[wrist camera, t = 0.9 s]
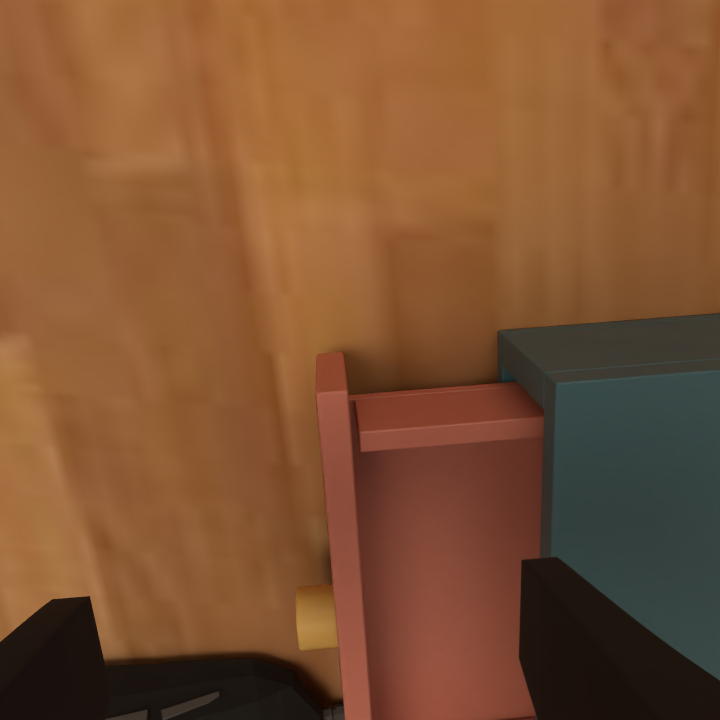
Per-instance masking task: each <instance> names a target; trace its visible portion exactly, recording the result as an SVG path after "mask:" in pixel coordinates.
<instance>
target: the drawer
mask: <svg viewBox="0 0 720 720" xmlns="http://www.w3.org/2000/svg"><path fill="white" fill-rule="evenodd" d="M316 404H317V415H318V427H319V438H320V449H321V460H322V471H323V482H324V493H325V504H326V515H327V526H328V538H329V549H330V560H331V571H332V582H333V584H329V585H318V586H307V587H298V588H297V590H296V627H297V639H298V646H299V649H300V650H301V651H304V650H315V649H325V648H336V647H338V649H339V660H340V671H341V682H342V693H343V704H344V715H345V720H535V716H536V713H535V710H534V706H533V703H532V700H531V697H530V694H529V691H528V687H527V684H526V681H525V677H524V674H523V671H522V667H521V664H520V661H519V631H520V595H521V560H525V559H537V558H540V537H541V502H542V466H543V430H544V409H543V408H542V407H541V406H540V405H539V404H538V403H537V402H536V401H535V400H534V399H533V398H532V397H531V396H530V395H529V393H528V392H527V391H526V390H525V389H524V388H523V387H522V386H521V385H520V384H519V383H518V382H507V383H495V384H482V385H470V386H457V387H445V388H432V389H420V390H407V391H395V392H382V393H370V394H358V395H348V386H347V377H346V369H345V361H344V354H343V353H342V352H338V353H325V354H318V355H317V362H316Z"/></svg>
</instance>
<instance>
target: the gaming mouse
mask: <svg viewBox="0 0 720 720" xmlns="http://www.w3.org/2000/svg"><path fill="white" fill-rule="evenodd" d="M105 668H106V672H107V677H108V682H109V686H110V691H111V699H110V703H109V707H108V711H107V715H106V719H105V720H345V715H344V704H343V703H339V704H336V707H334V708H332V707H331V706H328V707H323V709H321V707H320V706H319V704H318V702H317V701H316V699H315V698H314V697H313V695H312V694H311V693H310V692H309V690H308V689H307V688H306V686H305V685H304V684H303V682H302V681H301V680H300V678H299V677H298V676H297V675H296V673H295V672H294V671H292V670H289V669H286V668H283V667H279V666H276V665H273V664H269V663H266V662H263V661H259V660H256V659H236V660H205V661H191V662H178V663H165V664H152V665H127V666H106V667H105Z"/></svg>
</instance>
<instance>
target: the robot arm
mask: <svg viewBox="0 0 720 720" xmlns="http://www.w3.org/2000/svg"><path fill="white" fill-rule="evenodd" d="M519 661H520V664H521V667H522V671H523V674H524V677H525V681H526V684H527V687H528V691H529V694H530V697H531V700H532V703H533V706H534V710H535V713H536V716H537V719H538V720H720V680H718V679H717V678H715V677H714V676H712V675H711V674H710V673H708V672H707V671H705V670H704V669H702V668H701V667H699V666H698V665H697V664H695V663H694V662H692V661H691V660H689V659H688V658H686V657H685V656H684V655H682V654H681V653H679V652H678V651H677V650H675V649H674V648H673V647H671V646H670V645H668V644H667V643H666V642H664V641H663V640H662V639H660V638H659V637H658V636H656V635H655V634H654V633H652V632H651V631H650V630H648V629H647V628H646V627H644V626H643V625H642V624H641V623H639V622H638V621H637V620H635V619H634V618H633V617H632V616H630V615H629V614H628V613H626V612H625V611H624V610H623V609H621V608H620V607H619V606H618V605H616V604H615V603H614V602H613V601H611V600H610V599H609V598H608V597H606V596H605V595H604V594H603V593H601V592H600V591H599V590H598V589H596V588H595V587H594V586H593V585H592V584H590V583H589V582H588V581H587V580H585V579H584V578H583V577H582V576H581V575H579V574H578V573H577V572H576V571H574V570H573V569H572V568H571V567H569V566H568V565H567V564H566V563H564V562H563V561H562V560H561V559H559V558H558V557H549V558H537V559H525V560H521V595H520V631H519ZM110 699H111V691H110V686H109V682H108V677H107V672H106V668H105V663H104V659H103V654H102V650H101V645H100V641H99V636H98V632H97V627H96V623H95V618H94V613H93V609H92V604H91V600H90V596H87V597H75V598H63V599H52V600H51V601H50V602H48V603H47V604H46V605H44V606H43V607H42V608H40V609H39V610H38V611H37V612H35V613H34V614H33V615H32V616H31V617H29V618H28V619H27V620H26V621H25V622H23V623H22V624H21V625H20V626H19V627H17V628H16V629H15V630H14V631H13V632H12V633H10V634H9V635H8V636H7V637H6V638H4V639H3V640H2V641H1V642H0V720H105V719H106V715H107V711H108V707H109V703H110Z"/></svg>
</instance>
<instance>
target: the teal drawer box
mask: <svg viewBox="0 0 720 720" xmlns="http://www.w3.org/2000/svg"><path fill="white" fill-rule="evenodd" d="M507 382H518V383H519V384H520V385H521V386H522V387H523V388H524V389H525V390H526V391H527V392H528V393H529V395H530V396H531V397H532V398H533V399H534V400H535V401H536V402H537V403H538V404H539V405H540V406H541V407H542V408H543V409H544V430H543V466H542V502H541V537H540V558H549V557H558V558H559V559H561V560H562V561H563V562H564V563H566V564H567V565H568V566H569V567H571V568H572V569H573V570H574V571H576V572H577V573H578V574H579V575H581V576H582V577H583V578H584V579H585V580H587V581H588V582H589V583H590V584H592V585H593V586H594V587H595V588H596V589H598V590H599V591H600V592H601V593H603V594H604V595H605V596H606V597H608V598H609V599H610V600H611V601H613V602H614V603H615V604H616V605H618V606H619V607H620V608H621V609H623V610H624V611H625V612H626V613H628V614H629V615H630V616H632V617H633V618H634V619H635V620H637V621H638V622H639V623H641V624H642V625H643V626H644V627H646V628H647V629H648V630H650V631H651V632H652V633H654V634H655V635H656V636H658V637H659V638H660V639H662V640H663V641H664V642H666V643H667V644H668V645H670V646H671V647H673V648H674V649H675V650H677V651H678V652H679V653H681V654H682V655H684V656H685V657H686V658H688V659H689V660H691V661H692V662H694V663H695V664H697V665H698V666H699V667H701V668H702V669H704V670H705V671H707V672H708V673H710V674H711V675H712V676H714V677H715V678H717V679H718V680H720V313H719V314H706V315H693V316H680V317H667V318H654V319H641V320H628V321H615V322H602V323H589V324H576V325H563V326H550V327H537V328H524V329H511V330H500V331H498V383H507ZM535 720H538V719H537V716H535Z"/></svg>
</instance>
